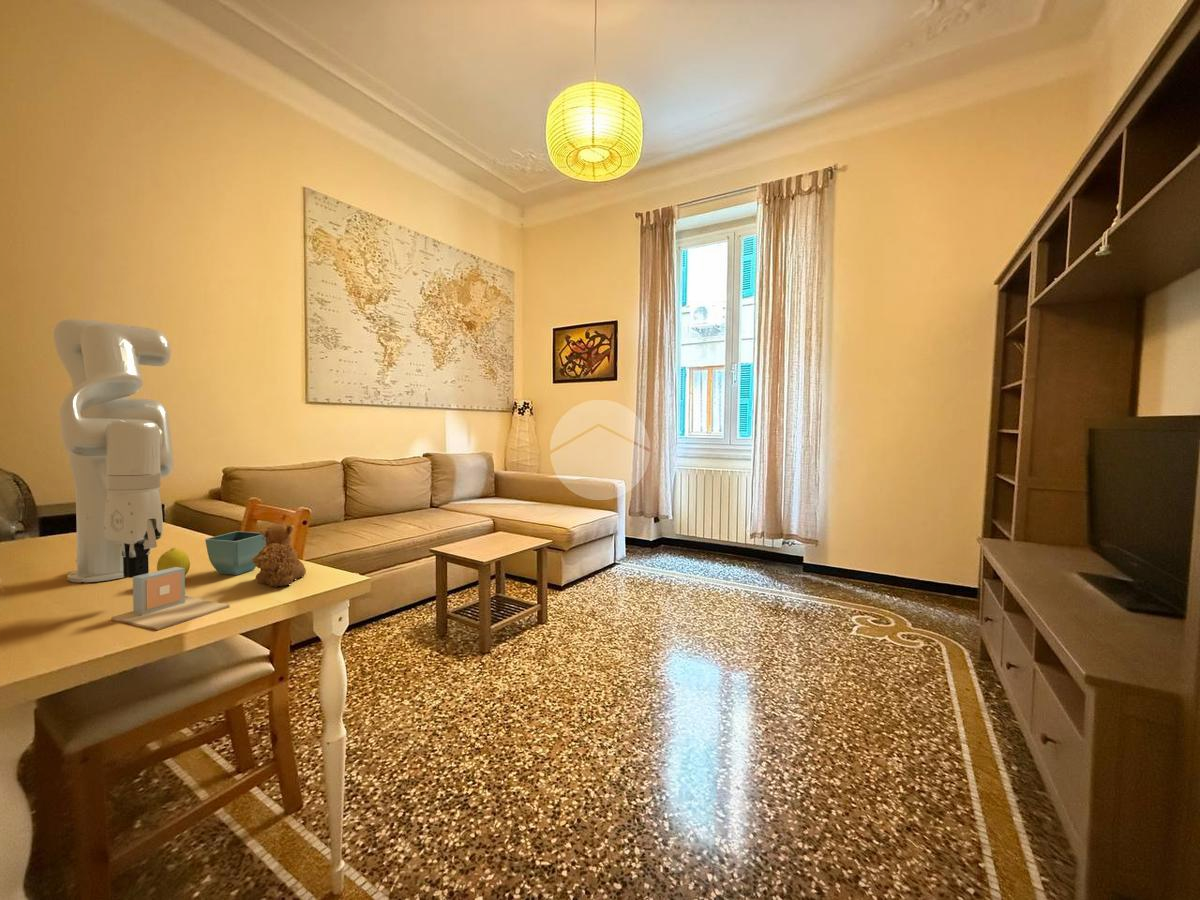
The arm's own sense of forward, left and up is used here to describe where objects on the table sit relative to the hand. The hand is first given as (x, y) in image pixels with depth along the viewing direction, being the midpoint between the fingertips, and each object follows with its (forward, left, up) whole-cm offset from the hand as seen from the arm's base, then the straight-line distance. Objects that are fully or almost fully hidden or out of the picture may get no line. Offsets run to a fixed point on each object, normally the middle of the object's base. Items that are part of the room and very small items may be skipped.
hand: (136, 575), depth 94 cm
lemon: (-8, +11, -6) cm, 15 cm away
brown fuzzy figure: (+12, +21, -6) cm, 25 cm away
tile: (+7, 0, -6) cm, 9 cm away
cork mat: (+11, 0, -6) cm, 12 cm away
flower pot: (-4, +22, -6) cm, 23 cm away
